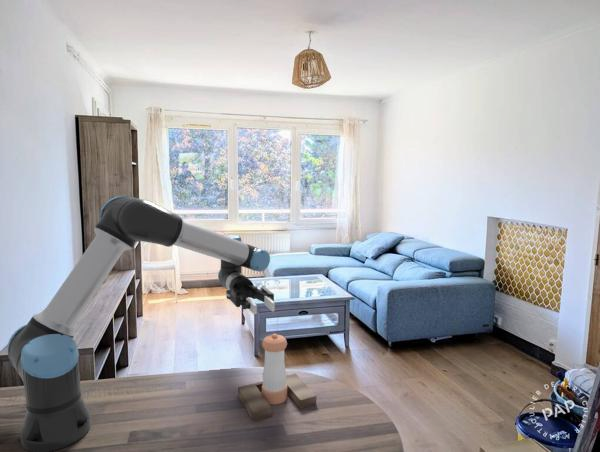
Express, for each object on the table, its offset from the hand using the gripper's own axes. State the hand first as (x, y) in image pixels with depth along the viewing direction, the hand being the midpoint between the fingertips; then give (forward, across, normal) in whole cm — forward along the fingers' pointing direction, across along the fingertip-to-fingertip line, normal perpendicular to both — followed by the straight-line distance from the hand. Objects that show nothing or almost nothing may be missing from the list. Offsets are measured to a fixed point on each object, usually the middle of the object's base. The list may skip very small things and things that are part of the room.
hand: (264, 308), depth 124 cm
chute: (+10, 0, -24) cm, 26 cm away
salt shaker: (+8, 0, -24) cm, 25 cm away
